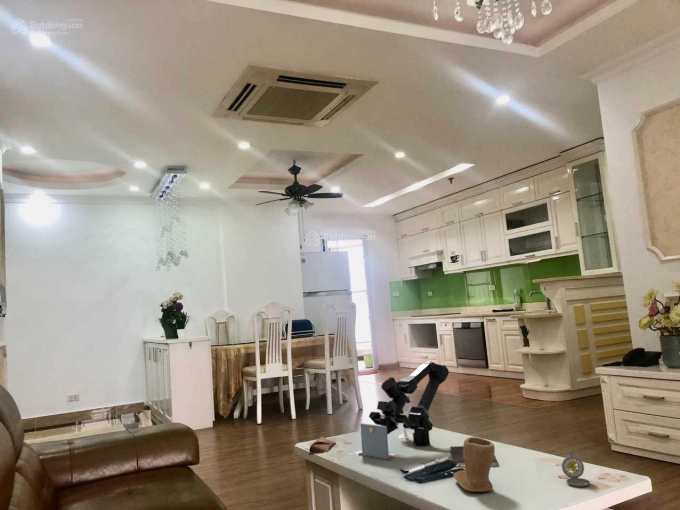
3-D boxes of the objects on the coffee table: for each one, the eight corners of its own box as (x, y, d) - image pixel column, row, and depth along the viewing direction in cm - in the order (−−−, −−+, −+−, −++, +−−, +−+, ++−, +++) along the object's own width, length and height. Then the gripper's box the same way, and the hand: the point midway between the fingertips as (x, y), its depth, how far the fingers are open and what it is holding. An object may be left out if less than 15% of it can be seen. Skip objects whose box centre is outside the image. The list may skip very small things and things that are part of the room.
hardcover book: (453, 468, 187) (452, 461, 187) (450, 452, 209) (450, 446, 210) (498, 467, 184) (498, 460, 185) (491, 451, 207) (490, 445, 207)
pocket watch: (580, 489, 155) (576, 454, 156) (557, 482, 162) (553, 449, 164) (598, 484, 159) (594, 450, 160) (574, 477, 166) (571, 445, 168)
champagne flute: (397, 438, 237) (394, 385, 240) (398, 435, 243) (395, 383, 247) (412, 438, 236) (408, 384, 239) (412, 435, 242) (409, 383, 246)
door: (364, 453, 207) (362, 423, 209) (388, 458, 198) (386, 426, 200) (360, 455, 206) (358, 424, 207) (385, 459, 197) (382, 427, 198)
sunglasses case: (328, 452, 218) (320, 438, 219) (315, 461, 218) (306, 447, 220) (337, 443, 235) (329, 430, 237) (324, 451, 236) (316, 438, 237)
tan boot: (503, 493, 155) (498, 442, 157) (464, 496, 155) (459, 444, 157) (489, 479, 170) (484, 432, 172) (453, 481, 170) (449, 434, 172)
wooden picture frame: (375, 452, 214) (374, 448, 214) (404, 458, 202) (404, 453, 203) (358, 457, 207) (358, 453, 207) (388, 463, 196) (388, 458, 196)
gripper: (370, 392, 219) (353, 423, 209) (404, 394, 205) (388, 427, 196) (383, 408, 223) (368, 439, 214) (418, 411, 210) (403, 445, 201)
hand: (381, 437), depth 206 cm, fingers closed
